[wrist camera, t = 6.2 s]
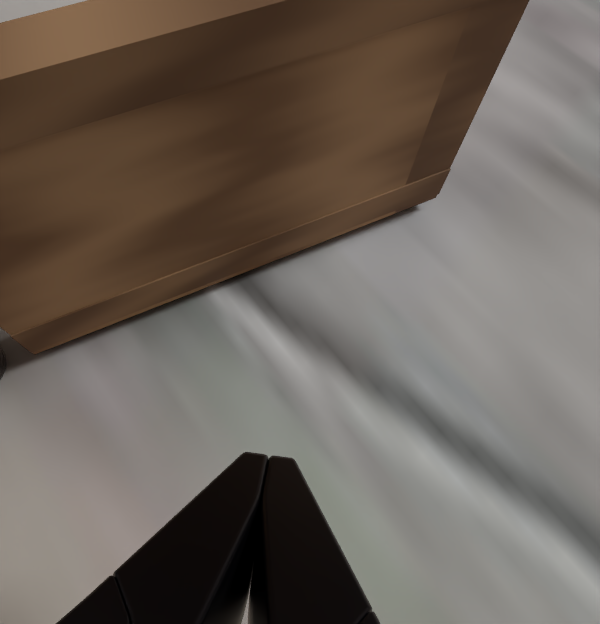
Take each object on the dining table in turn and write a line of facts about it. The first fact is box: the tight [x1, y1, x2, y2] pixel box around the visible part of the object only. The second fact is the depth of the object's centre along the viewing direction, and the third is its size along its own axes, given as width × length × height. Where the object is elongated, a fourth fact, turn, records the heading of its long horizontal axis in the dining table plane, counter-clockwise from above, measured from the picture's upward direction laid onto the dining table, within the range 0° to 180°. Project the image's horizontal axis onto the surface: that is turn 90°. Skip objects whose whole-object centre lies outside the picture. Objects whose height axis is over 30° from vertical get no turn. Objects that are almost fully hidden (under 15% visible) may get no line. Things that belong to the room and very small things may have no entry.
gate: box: [0, 0, 529, 354], centre depth 14 cm, size 15×1×10 cm, turn 116°
